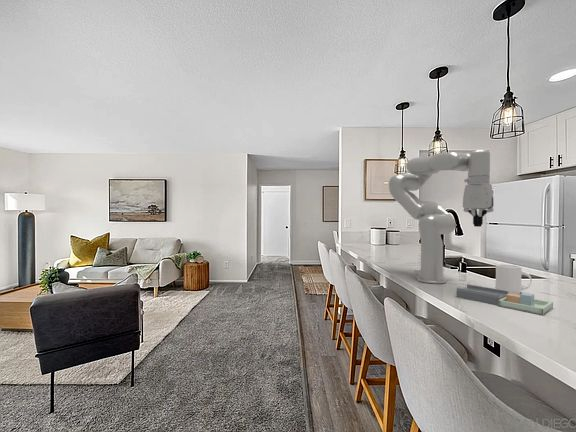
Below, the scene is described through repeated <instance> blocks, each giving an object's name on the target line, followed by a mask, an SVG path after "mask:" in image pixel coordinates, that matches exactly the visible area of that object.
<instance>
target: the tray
mask: <svg viewBox="0 0 576 432" xmlns="http://www.w3.org/2000/svg"><path fill="white" fill-rule="evenodd" d="M497 307H500V308H506V309H509V310H516V311H520V312H525V313H528V314H529V313H530V314H534V315H540V316H544V315H546V314H547V313H548V312H549V311H551V310H553V309H554V302H553V301H549V300H548V301H547V300H541V299H536V298H534V306H528V305H522V304H517V303H512V302H507V301H506V297H504V298H502V299H500V300H498V305H497Z"/></svg>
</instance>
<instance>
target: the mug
mask: <svg viewBox="0 0 576 432" xmlns="http://www.w3.org/2000/svg"><path fill="white" fill-rule="evenodd" d="M523 275H524V276H526V277H528V278H529V284H528V285H527V284H526V285H523V284H522V276H523ZM531 285H532V276H531V275H530V273H528V272H527V271H525V270H523V269H522V266H520V265H515V264H503V263H502V264H501V263H499V264H495V289H499V290H505V291H508V294H509V293H512V294H518V295H520V294H522V293H521V292H522V291H523V290H524V291H525V290H527V289H529V288H530V287H531Z"/></svg>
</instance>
